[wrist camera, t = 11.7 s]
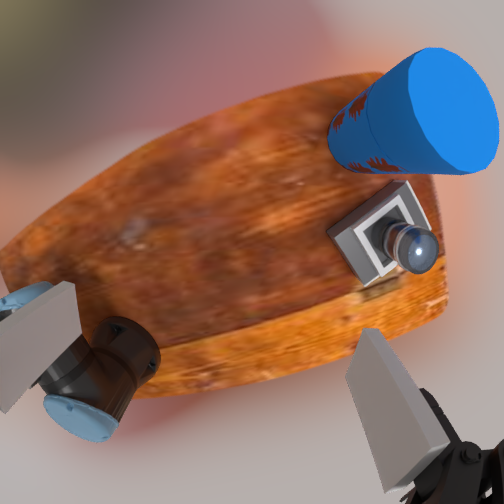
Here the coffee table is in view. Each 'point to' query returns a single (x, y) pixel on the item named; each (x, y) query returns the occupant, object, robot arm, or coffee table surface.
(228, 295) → the coffee table surface
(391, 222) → the lens
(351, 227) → the grey square frame
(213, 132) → the coffee table surface
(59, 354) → the robot arm
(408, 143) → the thermos
